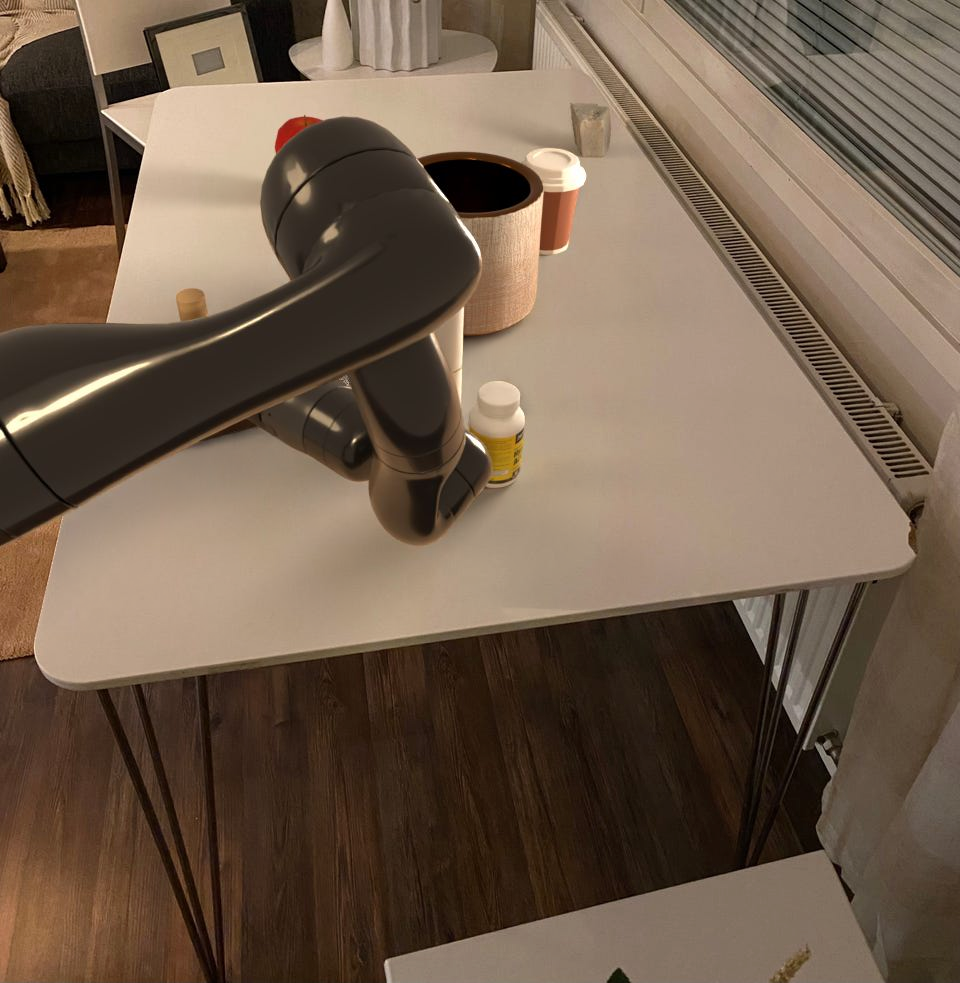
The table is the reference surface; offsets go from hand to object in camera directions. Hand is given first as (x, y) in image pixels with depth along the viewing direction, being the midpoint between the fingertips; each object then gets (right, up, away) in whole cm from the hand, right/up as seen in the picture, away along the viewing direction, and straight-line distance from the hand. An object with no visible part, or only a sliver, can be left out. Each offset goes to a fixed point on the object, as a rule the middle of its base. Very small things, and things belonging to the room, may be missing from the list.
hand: (180, 330), depth 95 cm
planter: (+28, +8, +25) cm, 38 cm away
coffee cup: (+38, +18, +37) cm, 57 cm away
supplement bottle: (+31, -14, +2) cm, 34 cm away
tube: (+25, -7, +9) cm, 28 cm away
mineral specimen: (+47, +38, +60) cm, 86 cm away
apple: (+5, +27, +45) cm, 53 cm away
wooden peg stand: (+2, -7, +4) cm, 8 cm away
